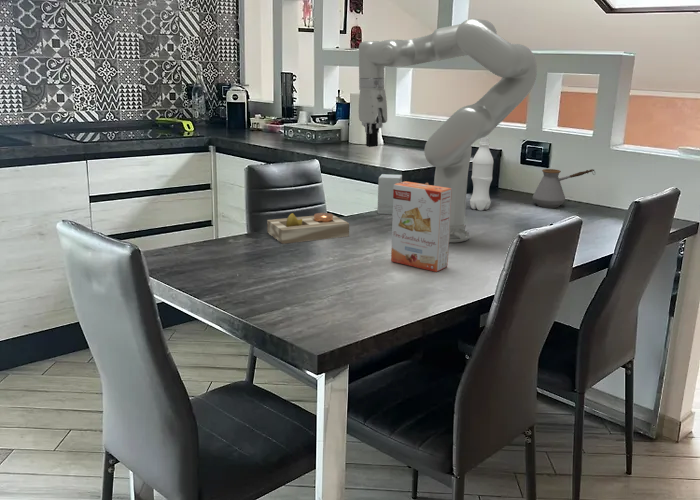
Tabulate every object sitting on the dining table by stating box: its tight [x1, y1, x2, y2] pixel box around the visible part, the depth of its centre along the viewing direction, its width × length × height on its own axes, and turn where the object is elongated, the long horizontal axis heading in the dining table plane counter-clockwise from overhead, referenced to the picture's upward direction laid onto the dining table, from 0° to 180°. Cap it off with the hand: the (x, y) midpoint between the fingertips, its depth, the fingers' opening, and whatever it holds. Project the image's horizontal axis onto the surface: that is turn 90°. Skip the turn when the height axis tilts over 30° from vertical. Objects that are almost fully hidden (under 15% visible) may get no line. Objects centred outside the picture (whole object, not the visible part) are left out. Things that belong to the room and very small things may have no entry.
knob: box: [286, 213, 302, 227], centre depth 200 cm, size 5×5×5 cm
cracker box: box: [390, 181, 452, 273], centre depth 173 cm, size 14×6×21 cm, turn 53°
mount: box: [266, 214, 350, 245], centre depth 203 cm, size 13×21×4 cm, turn 116°
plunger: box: [313, 212, 334, 223], centre depth 205 cm, size 6×6×4 cm
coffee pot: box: [532, 168, 596, 209], centre depth 242 cm, size 21×12×15 cm, turn 51°
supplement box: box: [376, 173, 403, 216], centre depth 232 cm, size 7×7×13 cm
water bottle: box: [469, 136, 495, 211], centre depth 237 cm, size 7×7×25 cm
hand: (372, 146), depth 207 cm, fingers closed
